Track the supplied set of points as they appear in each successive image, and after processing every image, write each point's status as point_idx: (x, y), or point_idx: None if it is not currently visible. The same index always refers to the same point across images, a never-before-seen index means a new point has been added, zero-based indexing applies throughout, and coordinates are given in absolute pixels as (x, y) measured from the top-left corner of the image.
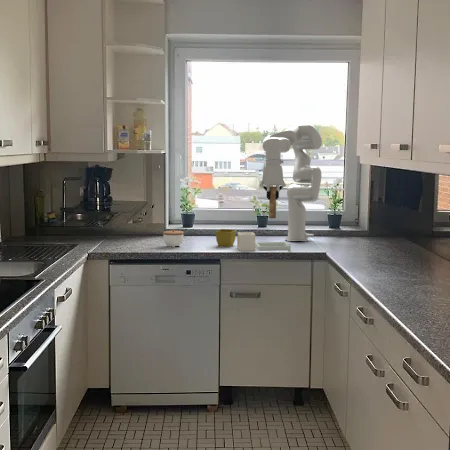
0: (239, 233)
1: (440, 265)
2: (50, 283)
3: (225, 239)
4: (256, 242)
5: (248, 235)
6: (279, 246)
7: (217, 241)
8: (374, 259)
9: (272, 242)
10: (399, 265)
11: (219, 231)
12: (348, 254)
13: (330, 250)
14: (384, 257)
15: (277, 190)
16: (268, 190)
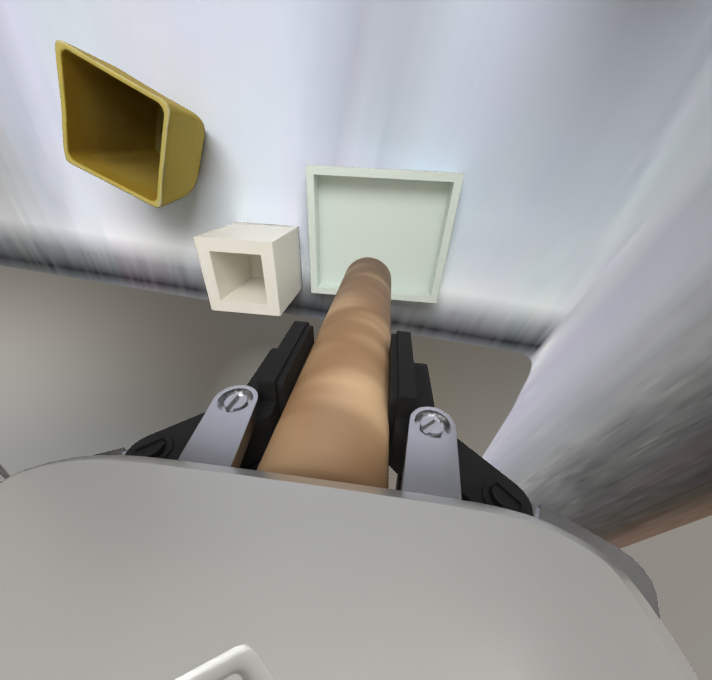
0: (208, 277)
1: (690, 516)
2: (9, 475)
3: (156, 185)
4: (313, 173)
5: (252, 311)
6: (391, 298)
7: (123, 161)
8: (607, 446)
9: (394, 178)
10: (598, 500)
11: (73, 94)
12: (602, 376)
13: (606, 293)
14: (666, 432)
15: (399, 477)
16: (259, 456)
